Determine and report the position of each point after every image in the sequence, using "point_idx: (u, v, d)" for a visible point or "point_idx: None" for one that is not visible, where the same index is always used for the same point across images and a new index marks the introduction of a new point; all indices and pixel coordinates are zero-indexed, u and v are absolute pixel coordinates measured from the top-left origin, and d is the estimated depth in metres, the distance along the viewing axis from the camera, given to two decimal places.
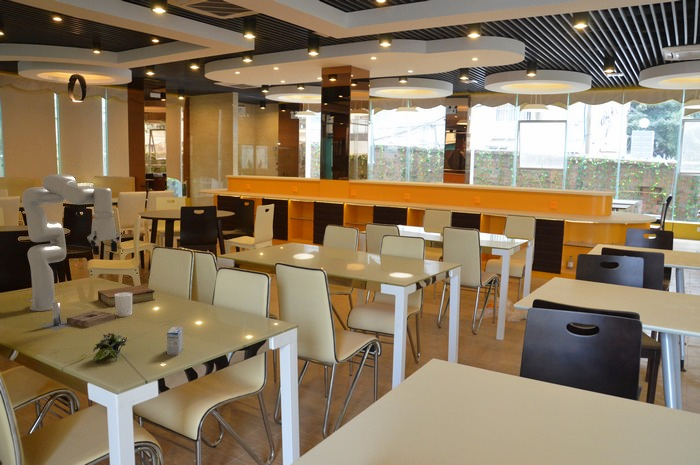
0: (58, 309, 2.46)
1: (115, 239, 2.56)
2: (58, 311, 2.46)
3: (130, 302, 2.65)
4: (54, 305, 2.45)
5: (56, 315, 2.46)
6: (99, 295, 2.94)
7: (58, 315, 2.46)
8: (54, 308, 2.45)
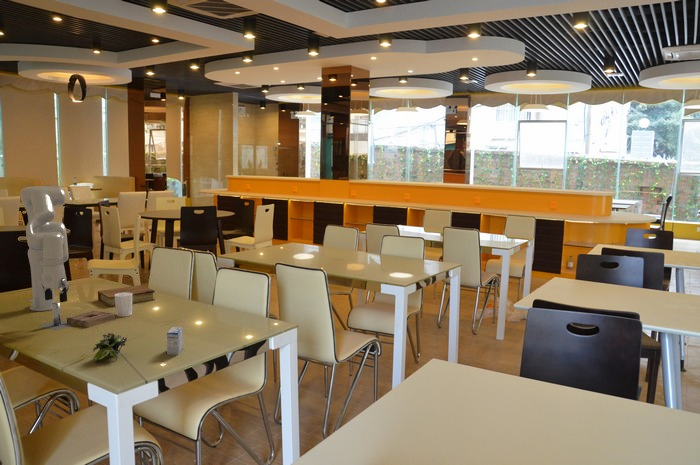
0: (58, 309, 2.46)
1: None
2: (58, 311, 2.46)
3: (130, 302, 2.65)
4: (54, 305, 2.45)
5: (56, 315, 2.46)
6: (99, 295, 2.94)
7: (58, 315, 2.46)
8: (54, 308, 2.45)
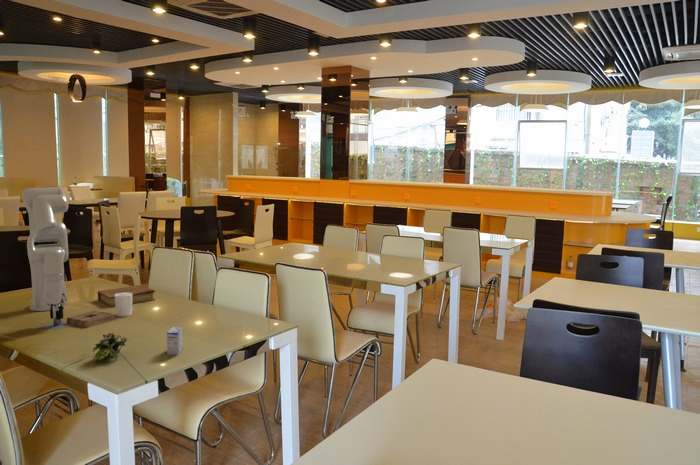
0: None
1: None
2: None
3: (130, 302, 2.65)
4: (54, 305, 2.45)
5: None
6: (99, 295, 2.94)
7: None
8: (54, 307, 2.45)
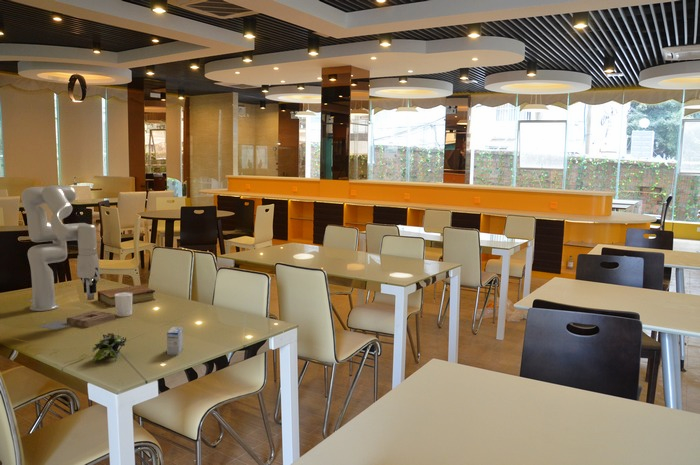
0: None
1: None
2: None
3: (130, 302, 2.65)
4: (87, 279, 2.50)
5: None
6: (99, 295, 2.94)
7: None
8: (87, 282, 2.50)
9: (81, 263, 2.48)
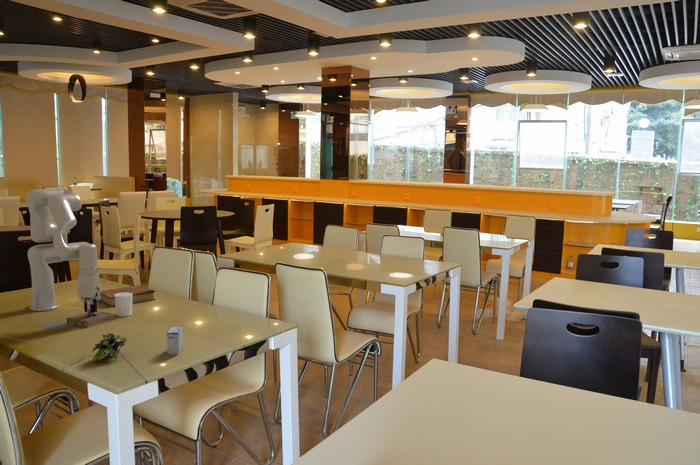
0: None
1: None
2: None
3: (130, 302, 2.65)
4: (88, 298, 2.51)
5: None
6: None
7: None
8: (88, 301, 2.51)
9: (82, 282, 2.49)
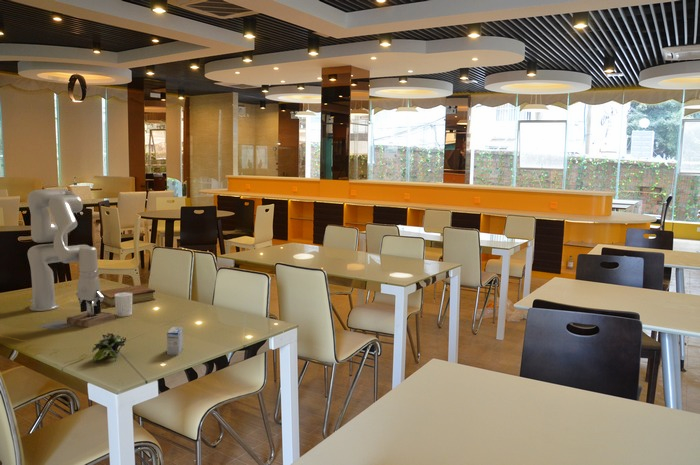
0: (92, 306, 2.52)
1: None
2: (92, 308, 2.52)
3: (130, 302, 2.65)
4: (88, 303, 2.51)
5: (90, 312, 2.52)
6: None
7: (92, 312, 2.52)
8: (88, 305, 2.51)
9: (82, 285, 2.50)
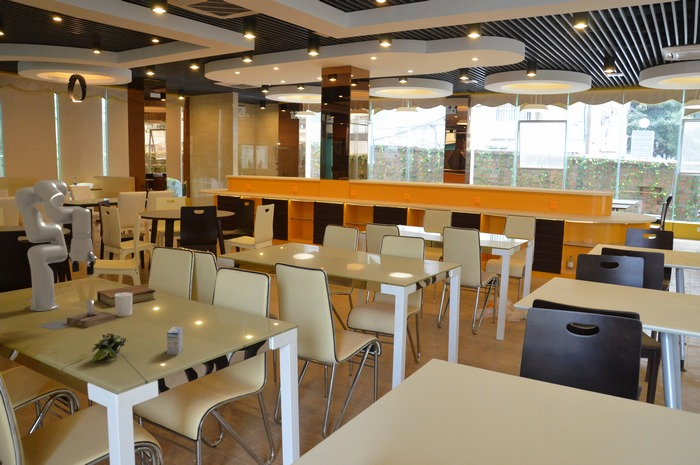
0: (92, 306, 2.52)
1: None
2: (92, 308, 2.52)
3: (130, 302, 2.65)
4: (88, 303, 2.51)
5: (90, 312, 2.52)
6: (98, 295, 2.93)
7: (92, 312, 2.52)
8: (88, 305, 2.51)
9: (75, 246, 2.51)
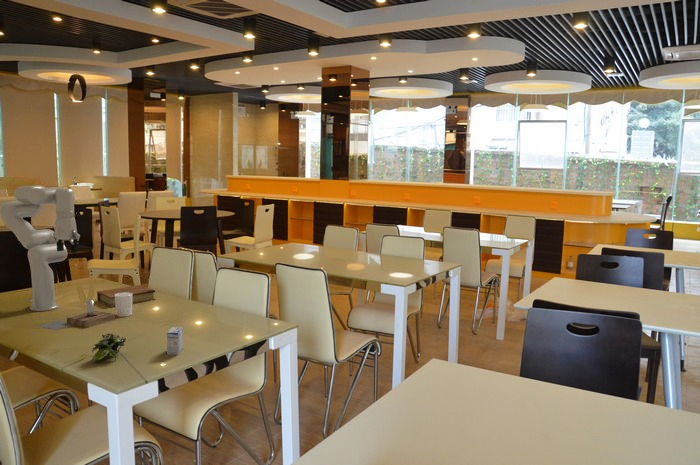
0: (92, 306, 2.52)
1: None
2: (92, 308, 2.52)
3: (130, 302, 2.65)
4: (88, 303, 2.51)
5: (90, 312, 2.52)
6: (98, 295, 2.93)
7: (92, 312, 2.52)
8: (88, 305, 2.51)
9: (59, 225, 2.59)
